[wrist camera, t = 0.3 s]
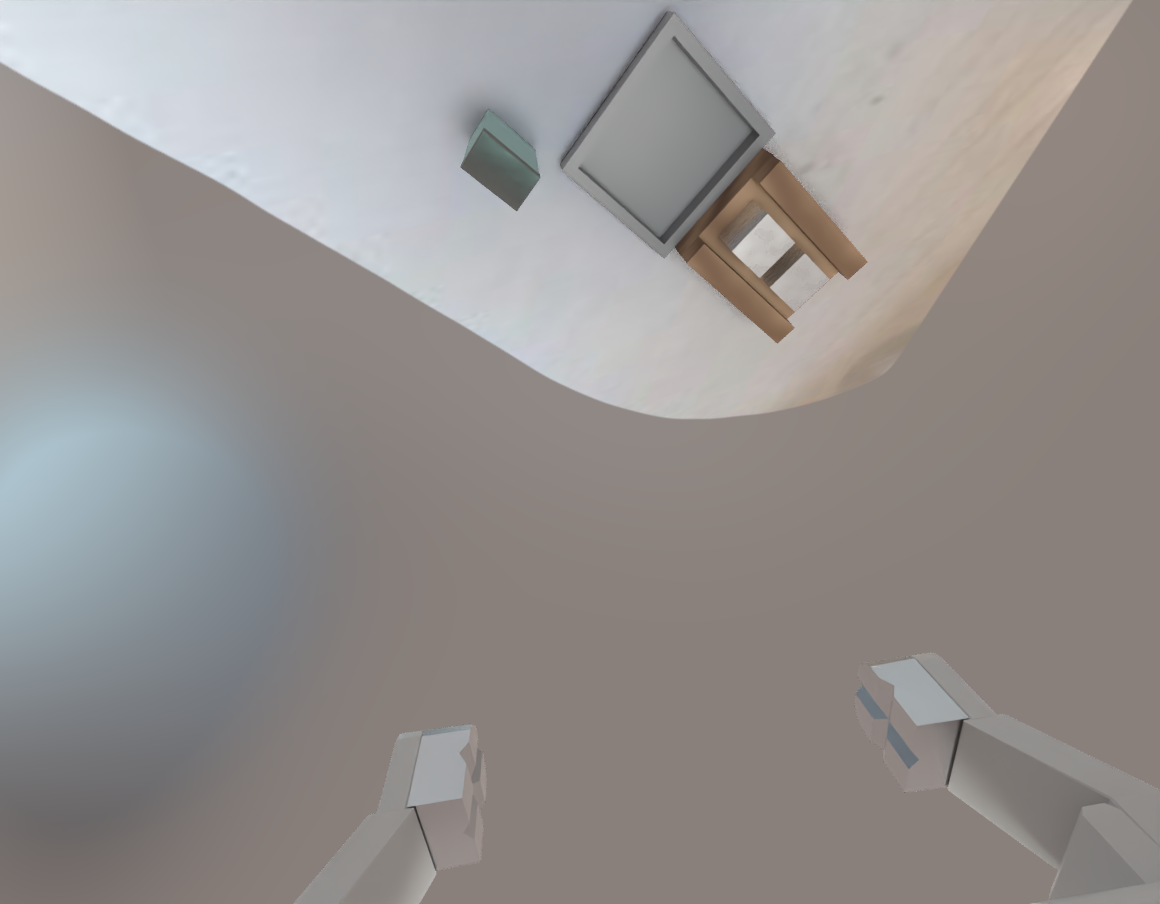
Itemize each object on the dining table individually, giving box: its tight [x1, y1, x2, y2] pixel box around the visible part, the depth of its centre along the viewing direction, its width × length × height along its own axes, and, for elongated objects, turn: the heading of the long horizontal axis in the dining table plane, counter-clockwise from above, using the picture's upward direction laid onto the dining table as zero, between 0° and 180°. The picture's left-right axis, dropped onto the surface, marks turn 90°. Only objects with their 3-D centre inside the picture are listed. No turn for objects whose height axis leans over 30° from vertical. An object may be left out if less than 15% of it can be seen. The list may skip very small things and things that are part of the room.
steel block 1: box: [719, 200, 795, 278], centre depth 49 cm, size 4×4×4 cm
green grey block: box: [461, 109, 540, 211], centre depth 44 cm, size 5×3×10 cm, turn 50°
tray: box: [560, 12, 775, 258], centre depth 48 cm, size 14×13×2 cm
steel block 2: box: [761, 244, 830, 311], centre depth 51 cm, size 4×4×4 cm
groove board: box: [675, 148, 867, 343], centre depth 53 cm, size 11×14×7 cm
